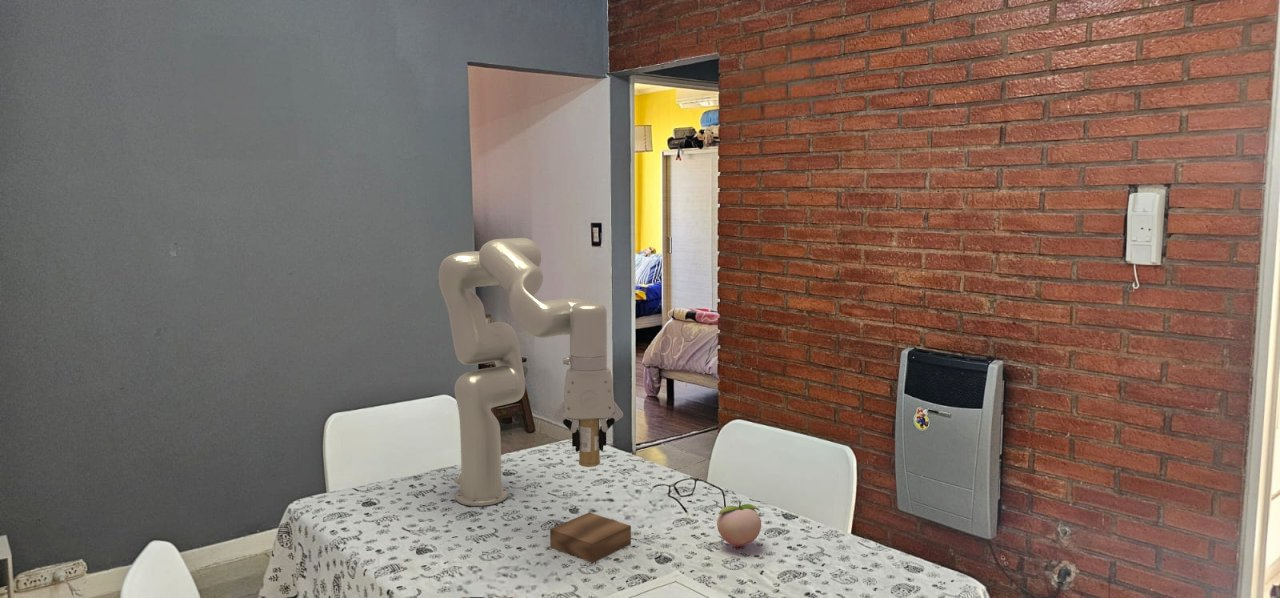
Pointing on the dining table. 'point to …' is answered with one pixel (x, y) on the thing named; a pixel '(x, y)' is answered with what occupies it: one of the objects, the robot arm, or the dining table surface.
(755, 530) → the decorative fruit
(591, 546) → the walnut stand
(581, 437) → the sprinkles bottle
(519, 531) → the dining table surface
